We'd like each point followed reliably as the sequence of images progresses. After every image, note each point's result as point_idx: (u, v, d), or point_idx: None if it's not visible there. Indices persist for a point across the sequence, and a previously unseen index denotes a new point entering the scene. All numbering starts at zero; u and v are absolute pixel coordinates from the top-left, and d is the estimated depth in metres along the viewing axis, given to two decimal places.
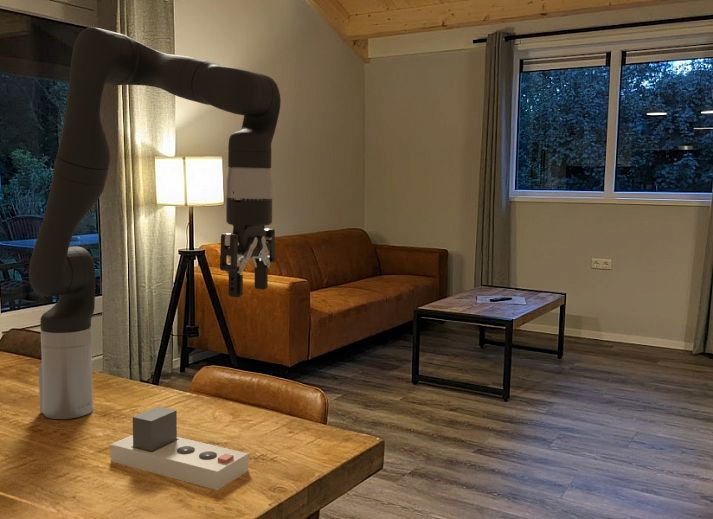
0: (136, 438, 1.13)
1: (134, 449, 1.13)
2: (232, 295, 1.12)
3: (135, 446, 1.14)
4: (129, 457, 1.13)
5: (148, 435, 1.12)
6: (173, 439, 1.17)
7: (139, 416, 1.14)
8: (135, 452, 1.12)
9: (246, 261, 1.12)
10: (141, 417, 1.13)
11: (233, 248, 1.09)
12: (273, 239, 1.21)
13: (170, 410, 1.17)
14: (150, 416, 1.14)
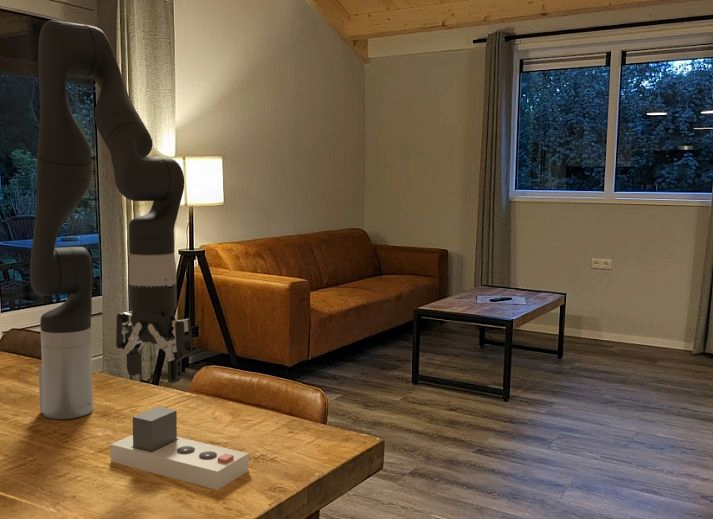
0: (136, 438, 1.13)
1: (134, 449, 1.13)
2: (174, 381, 1.12)
3: (135, 446, 1.14)
4: (129, 457, 1.13)
5: (148, 435, 1.12)
6: (173, 439, 1.17)
7: (139, 416, 1.14)
8: (135, 452, 1.12)
9: None
10: (141, 417, 1.13)
11: (190, 332, 1.11)
12: None
13: (170, 410, 1.17)
14: (150, 416, 1.14)
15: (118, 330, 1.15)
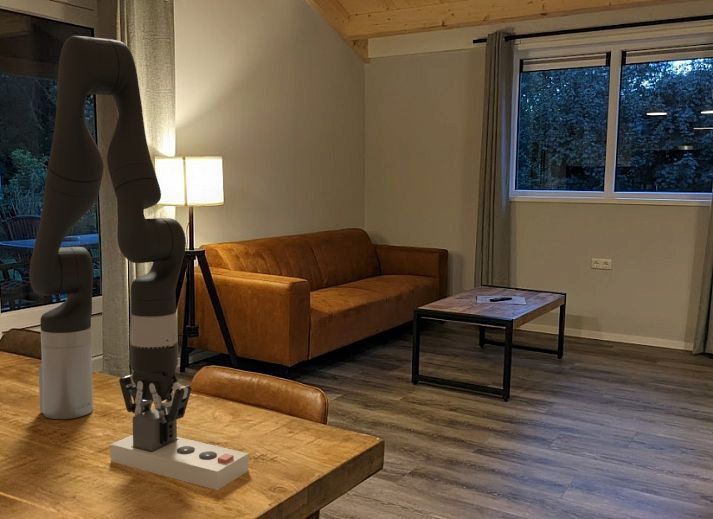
0: (136, 438, 1.13)
1: (134, 449, 1.13)
2: (165, 443, 1.14)
3: (135, 447, 1.14)
4: (129, 457, 1.13)
5: (148, 435, 1.12)
6: (173, 440, 1.17)
7: (139, 416, 1.14)
8: (135, 452, 1.12)
9: None
10: (141, 417, 1.13)
11: (187, 399, 1.13)
12: None
13: None
14: (150, 416, 1.14)
15: (124, 394, 1.16)
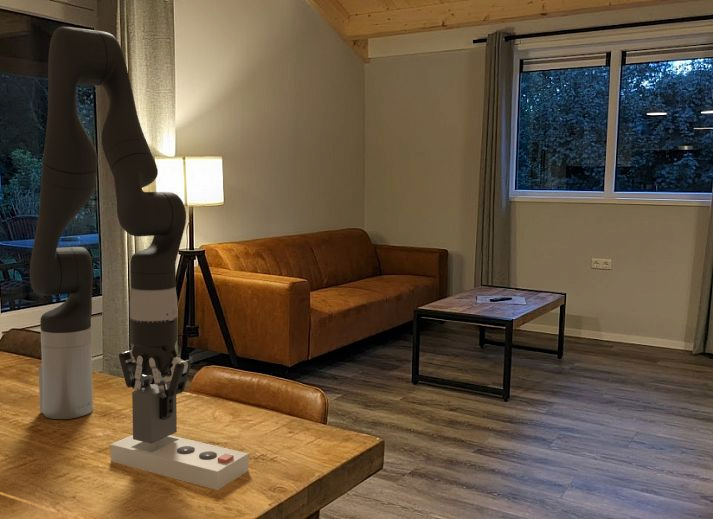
0: (136, 413, 1.13)
1: (134, 449, 1.13)
2: (165, 418, 1.14)
3: (135, 422, 1.13)
4: (129, 457, 1.13)
5: (147, 409, 1.12)
6: (173, 415, 1.16)
7: (139, 391, 1.13)
8: (135, 452, 1.12)
9: None
10: (141, 392, 1.13)
11: (187, 374, 1.13)
12: None
13: None
14: (149, 391, 1.13)
15: (124, 369, 1.16)
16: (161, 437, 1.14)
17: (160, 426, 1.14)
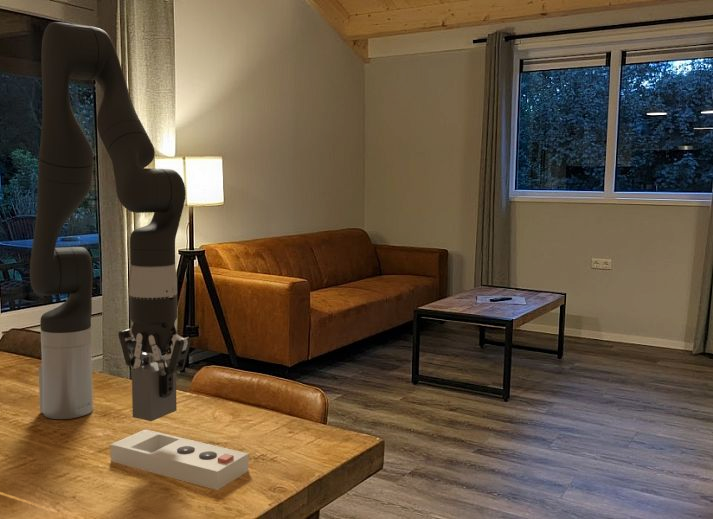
0: (136, 391, 1.12)
1: (134, 449, 1.13)
2: (165, 396, 1.13)
3: (134, 399, 1.13)
4: (129, 457, 1.13)
5: (147, 387, 1.11)
6: (173, 394, 1.16)
7: (138, 369, 1.13)
8: (135, 452, 1.12)
9: None
10: (140, 370, 1.12)
11: (187, 351, 1.12)
12: None
13: None
14: (149, 368, 1.13)
15: (123, 348, 1.15)
16: (161, 415, 1.14)
17: (159, 404, 1.13)
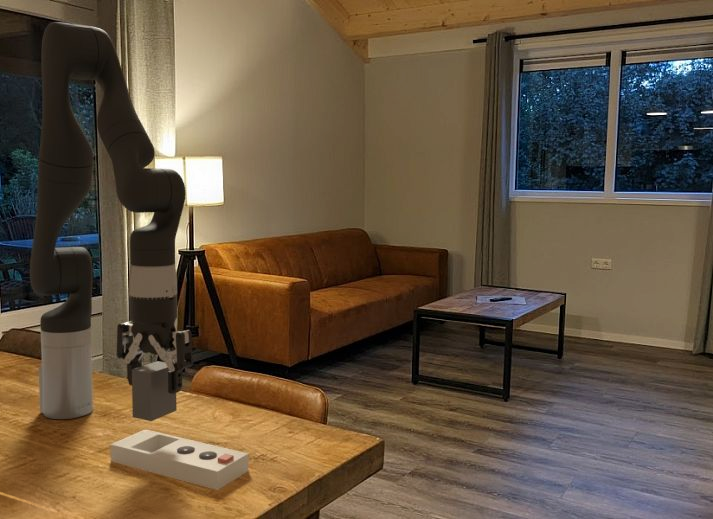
0: (136, 391, 1.12)
1: (134, 449, 1.13)
2: (174, 392, 1.12)
3: (134, 399, 1.13)
4: (129, 457, 1.13)
5: (147, 387, 1.11)
6: (173, 394, 1.16)
7: (138, 369, 1.13)
8: (135, 452, 1.12)
9: None
10: (140, 369, 1.12)
11: (191, 344, 1.12)
12: None
13: None
14: (149, 368, 1.13)
15: (119, 340, 1.16)
16: (161, 415, 1.14)
17: (159, 404, 1.13)
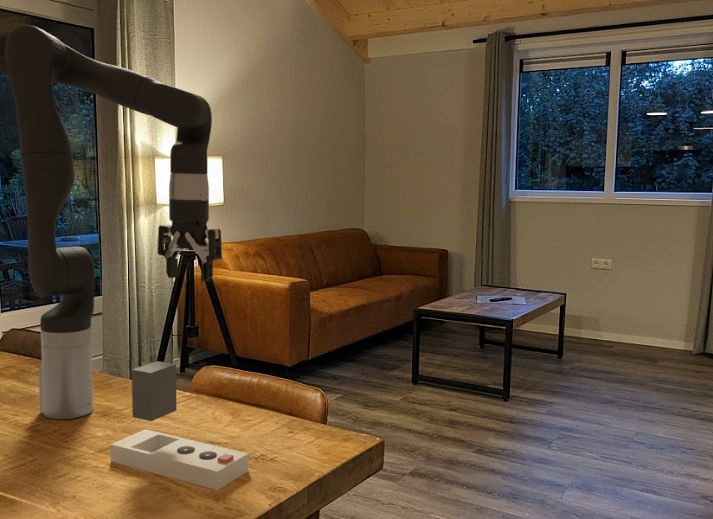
0: (136, 391, 1.12)
1: (134, 449, 1.13)
2: (206, 280, 1.35)
3: (134, 399, 1.13)
4: (129, 457, 1.13)
5: (147, 387, 1.11)
6: (173, 394, 1.16)
7: (138, 369, 1.13)
8: (135, 452, 1.12)
9: None
10: (140, 369, 1.12)
11: (220, 240, 1.34)
12: None
13: (170, 364, 1.16)
14: (149, 368, 1.13)
15: (159, 239, 1.38)
16: (161, 415, 1.14)
17: (159, 404, 1.13)
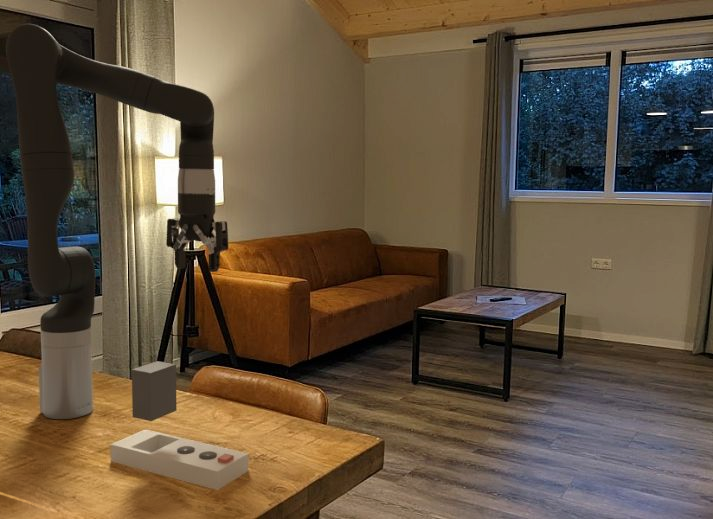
0: (136, 391, 1.12)
1: (134, 449, 1.13)
2: (213, 270, 1.42)
3: (134, 399, 1.13)
4: (129, 457, 1.13)
5: (147, 387, 1.11)
6: (173, 394, 1.16)
7: (138, 369, 1.13)
8: (135, 452, 1.12)
9: None
10: (140, 369, 1.12)
11: (227, 232, 1.41)
12: None
13: (170, 364, 1.16)
14: (149, 368, 1.13)
15: (168, 232, 1.45)
16: (161, 415, 1.14)
17: (159, 404, 1.13)
